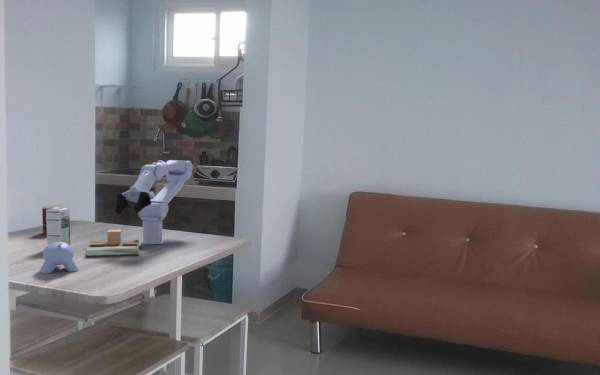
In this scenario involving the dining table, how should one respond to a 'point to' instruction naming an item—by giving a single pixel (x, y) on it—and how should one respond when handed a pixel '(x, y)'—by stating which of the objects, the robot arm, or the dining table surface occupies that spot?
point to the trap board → (113, 248)
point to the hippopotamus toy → (58, 257)
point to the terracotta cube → (114, 236)
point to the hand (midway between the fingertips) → (126, 211)
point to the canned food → (45, 215)
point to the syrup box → (58, 225)
